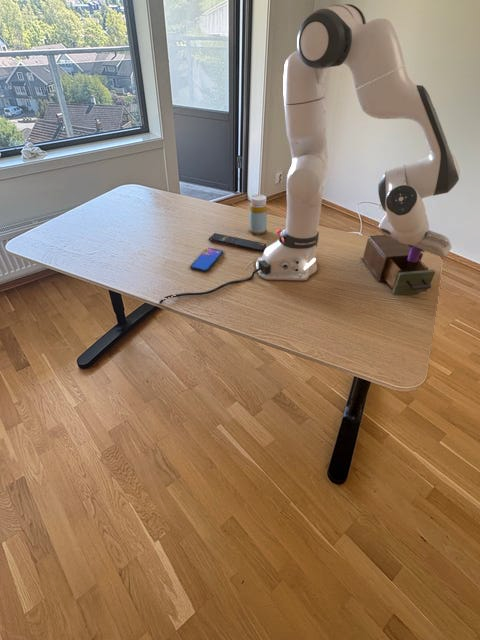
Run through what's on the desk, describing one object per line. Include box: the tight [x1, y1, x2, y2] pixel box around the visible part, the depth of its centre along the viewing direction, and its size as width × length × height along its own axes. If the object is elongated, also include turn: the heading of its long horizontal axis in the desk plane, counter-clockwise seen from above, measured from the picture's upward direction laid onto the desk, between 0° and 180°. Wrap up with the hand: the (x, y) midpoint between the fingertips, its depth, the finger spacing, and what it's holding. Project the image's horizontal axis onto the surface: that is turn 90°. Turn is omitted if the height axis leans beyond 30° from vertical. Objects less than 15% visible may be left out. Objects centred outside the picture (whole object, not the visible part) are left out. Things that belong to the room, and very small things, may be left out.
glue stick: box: [407, 246, 422, 262], centre depth 108 cm, size 3×3×8 cm
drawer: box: [383, 257, 436, 296], centre depth 114 cm, size 18×12×8 cm, turn 7°
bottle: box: [249, 194, 268, 236], centre depth 145 cm, size 7×7×15 cm
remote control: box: [208, 232, 267, 252], centre depth 141 cm, size 5×24×1 cm, turn 65°
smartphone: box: [190, 247, 224, 272], centre depth 132 cm, size 7×1×15 cm
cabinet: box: [362, 234, 424, 282], centre depth 123 cm, size 15×13×10 cm
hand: (417, 247), depth 108 cm, fingers closed on glue stick, 3 cm apart
